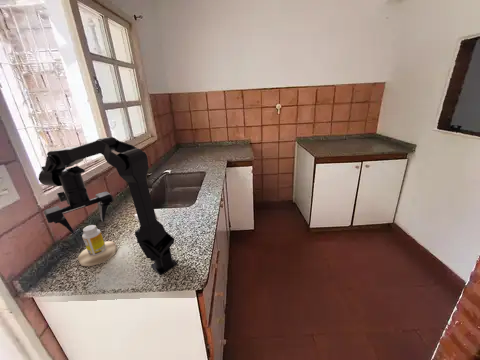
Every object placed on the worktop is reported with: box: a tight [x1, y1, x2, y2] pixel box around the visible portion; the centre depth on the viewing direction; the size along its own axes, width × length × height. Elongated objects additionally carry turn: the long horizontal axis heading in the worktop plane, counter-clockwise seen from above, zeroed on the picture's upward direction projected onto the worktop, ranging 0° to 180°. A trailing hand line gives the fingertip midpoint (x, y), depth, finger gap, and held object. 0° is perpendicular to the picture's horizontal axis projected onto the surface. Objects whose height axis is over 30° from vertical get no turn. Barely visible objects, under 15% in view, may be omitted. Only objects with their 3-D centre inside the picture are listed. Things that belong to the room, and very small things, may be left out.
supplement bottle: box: [81, 224, 106, 256], centre depth 78 cm, size 6×6×10 cm
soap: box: [133, 212, 157, 221], centre depth 103 cm, size 9×6×3 cm, turn 65°
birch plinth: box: [77, 240, 118, 267], centre depth 80 cm, size 12×12×2 cm
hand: (88, 227), depth 76 cm, fingers open, 9 cm apart
